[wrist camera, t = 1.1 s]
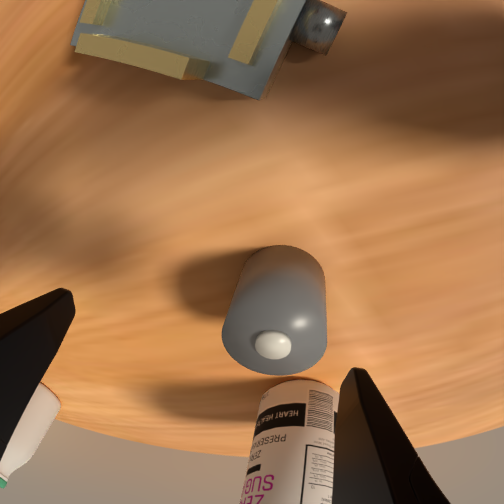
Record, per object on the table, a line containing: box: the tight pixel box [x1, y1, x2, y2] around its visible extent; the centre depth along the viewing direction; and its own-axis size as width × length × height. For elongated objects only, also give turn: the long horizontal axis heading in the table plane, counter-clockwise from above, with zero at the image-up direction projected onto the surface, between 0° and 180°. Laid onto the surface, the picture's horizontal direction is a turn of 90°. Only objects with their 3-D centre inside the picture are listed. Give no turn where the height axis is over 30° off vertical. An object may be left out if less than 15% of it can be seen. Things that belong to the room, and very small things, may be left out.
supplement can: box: [240, 380, 339, 504], centre depth 23 cm, size 8×8×15 cm
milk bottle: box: [0, 383, 61, 488], centre depth 33 cm, size 8×8×20 cm
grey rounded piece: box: [222, 245, 327, 375], centre depth 20 cm, size 6×6×6 cm
